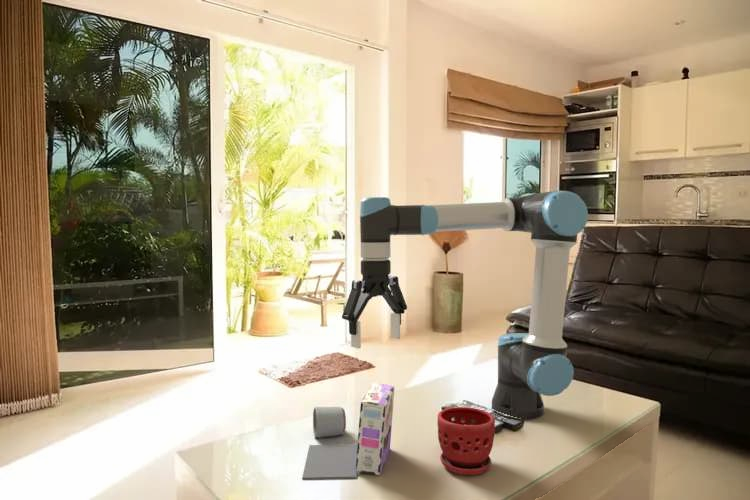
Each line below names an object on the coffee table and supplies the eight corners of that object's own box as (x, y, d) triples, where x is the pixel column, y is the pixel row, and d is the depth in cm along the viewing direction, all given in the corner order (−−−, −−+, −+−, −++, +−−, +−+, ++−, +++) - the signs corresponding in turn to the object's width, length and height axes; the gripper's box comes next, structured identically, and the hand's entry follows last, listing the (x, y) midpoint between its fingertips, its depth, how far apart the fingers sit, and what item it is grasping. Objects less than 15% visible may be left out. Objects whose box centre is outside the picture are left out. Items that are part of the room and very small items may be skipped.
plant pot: (505, 474, 113) (505, 422, 112) (451, 483, 109) (452, 429, 108) (477, 449, 125) (477, 402, 124) (428, 456, 121) (428, 408, 121)
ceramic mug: (347, 438, 131) (346, 409, 131) (316, 442, 129) (315, 413, 129) (339, 423, 142) (339, 396, 141) (310, 426, 140) (310, 399, 139)
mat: (357, 445, 127) (357, 444, 127) (356, 478, 111) (356, 476, 111) (309, 446, 127) (309, 445, 127) (302, 479, 111) (302, 477, 111)
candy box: (380, 476, 112) (385, 405, 111) (354, 472, 113) (359, 401, 112) (390, 448, 125) (395, 384, 124) (367, 445, 127) (372, 381, 125)
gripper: (399, 255, 137) (400, 332, 138) (326, 261, 120) (328, 348, 121) (420, 256, 131) (420, 336, 133) (346, 263, 115) (347, 354, 116)
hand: (376, 342), depth 127 cm, fingers open, 13 cm apart
